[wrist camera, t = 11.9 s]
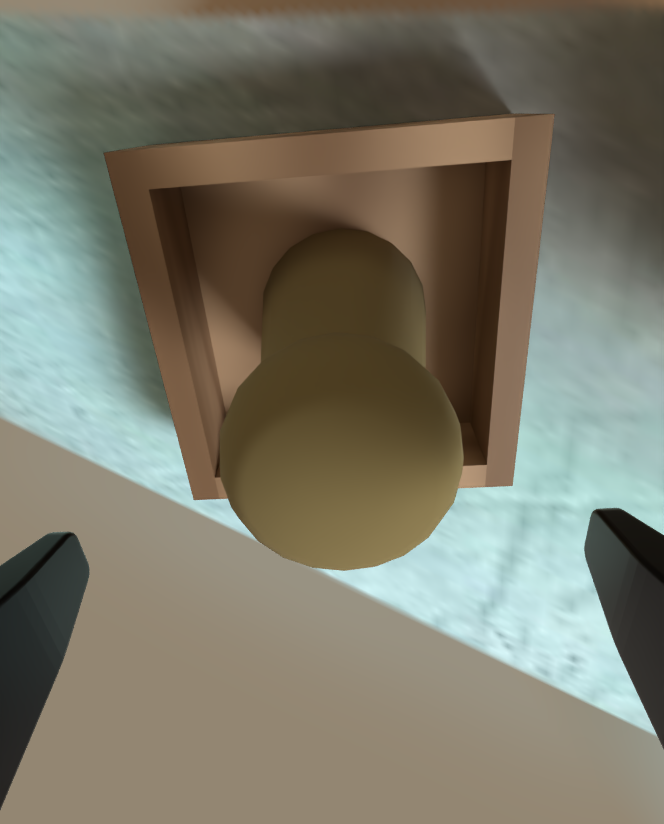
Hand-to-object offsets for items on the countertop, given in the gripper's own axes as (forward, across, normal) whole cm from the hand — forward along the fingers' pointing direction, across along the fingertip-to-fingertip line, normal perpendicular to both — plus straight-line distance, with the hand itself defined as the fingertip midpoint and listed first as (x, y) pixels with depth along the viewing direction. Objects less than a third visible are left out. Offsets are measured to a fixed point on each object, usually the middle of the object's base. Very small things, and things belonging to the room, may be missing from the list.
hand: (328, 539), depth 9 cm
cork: (+12, 0, 0) cm, 12 cm away
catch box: (+13, 0, 0) cm, 13 cm away
